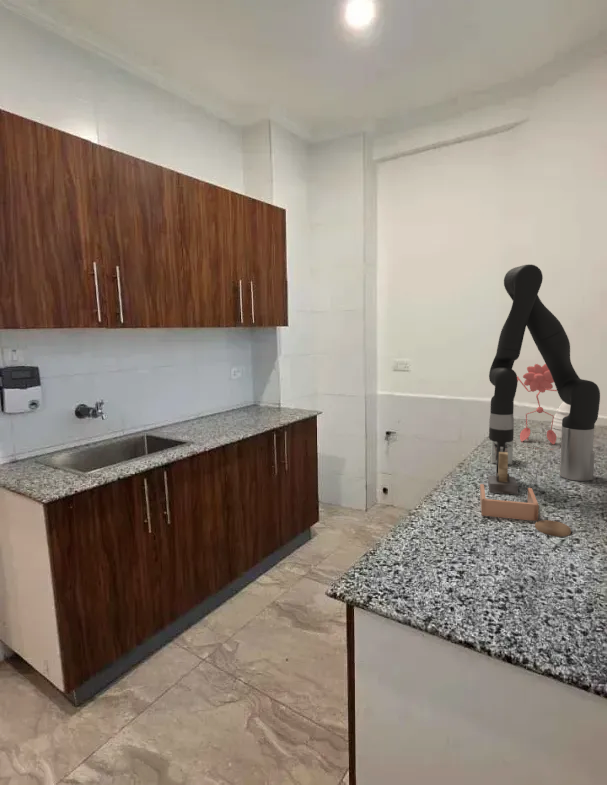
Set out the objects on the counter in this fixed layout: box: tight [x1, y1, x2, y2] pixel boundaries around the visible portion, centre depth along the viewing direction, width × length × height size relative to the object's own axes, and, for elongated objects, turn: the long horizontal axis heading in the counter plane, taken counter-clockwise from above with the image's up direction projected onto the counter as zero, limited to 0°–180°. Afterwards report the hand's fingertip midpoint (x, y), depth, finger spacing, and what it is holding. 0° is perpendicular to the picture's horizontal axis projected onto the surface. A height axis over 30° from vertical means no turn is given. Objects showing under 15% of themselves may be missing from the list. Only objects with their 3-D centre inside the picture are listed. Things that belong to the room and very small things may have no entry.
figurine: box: [517, 363, 561, 451], centre depth 190 cm, size 15×26×35 cm, turn 54°
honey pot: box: [550, 401, 571, 439], centre depth 205 cm, size 13×13×18 cm
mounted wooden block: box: [487, 452, 519, 495], centre depth 142 cm, size 8×8×12 cm
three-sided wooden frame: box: [479, 483, 540, 522], centre depth 127 cm, size 14×13×4 cm
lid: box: [534, 519, 572, 537], centre depth 114 cm, size 8×8×1 cm
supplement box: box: [490, 440, 514, 465], centre depth 170 cm, size 7×7×13 cm
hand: (499, 476), depth 151 cm, fingers closed
